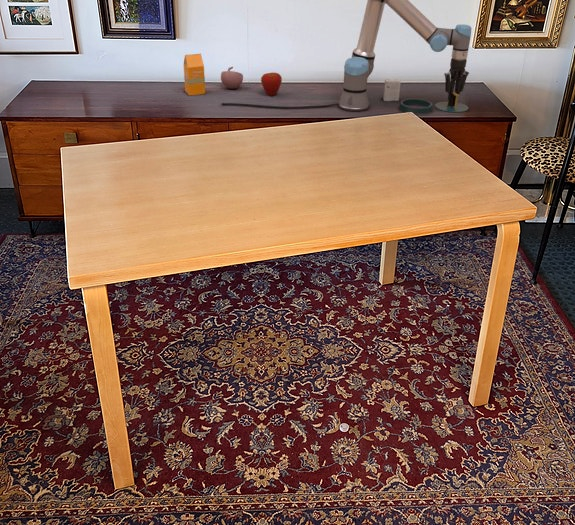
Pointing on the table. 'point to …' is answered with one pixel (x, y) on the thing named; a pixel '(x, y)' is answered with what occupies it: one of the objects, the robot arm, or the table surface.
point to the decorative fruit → (231, 78)
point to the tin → (413, 109)
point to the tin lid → (454, 109)
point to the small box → (391, 90)
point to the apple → (271, 83)
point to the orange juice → (194, 74)
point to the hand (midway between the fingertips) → (451, 105)
